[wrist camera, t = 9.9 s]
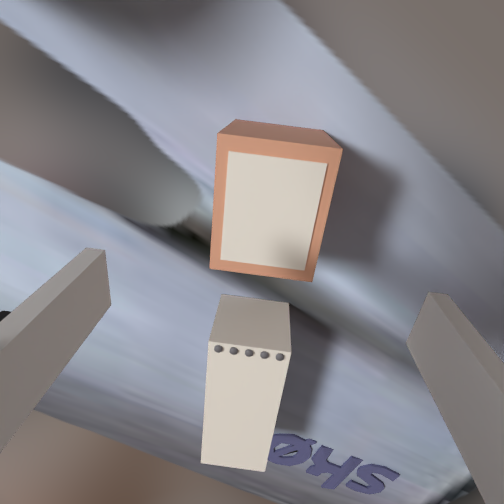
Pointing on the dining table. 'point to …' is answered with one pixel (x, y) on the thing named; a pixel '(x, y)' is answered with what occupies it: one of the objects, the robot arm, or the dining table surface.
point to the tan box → (271, 198)
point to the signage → (328, 464)
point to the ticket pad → (244, 381)
